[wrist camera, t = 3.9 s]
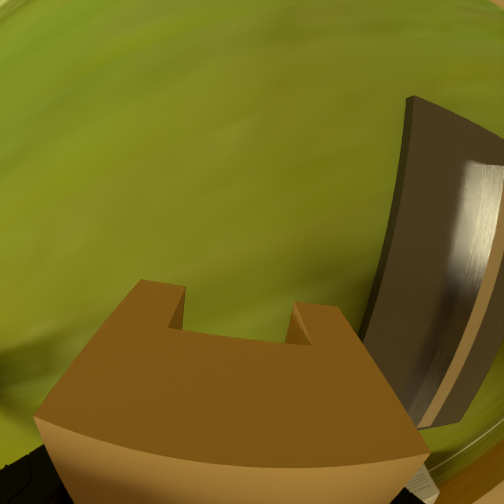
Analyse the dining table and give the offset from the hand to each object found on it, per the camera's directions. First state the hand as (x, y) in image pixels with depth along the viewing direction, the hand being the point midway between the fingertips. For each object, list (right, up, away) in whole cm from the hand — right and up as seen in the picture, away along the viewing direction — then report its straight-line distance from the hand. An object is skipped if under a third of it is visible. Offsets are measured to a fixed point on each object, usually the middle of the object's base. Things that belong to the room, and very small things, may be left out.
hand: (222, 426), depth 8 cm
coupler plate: (+13, +2, +8) cm, 15 cm away
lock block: (0, 0, +1) cm, 1 cm away
